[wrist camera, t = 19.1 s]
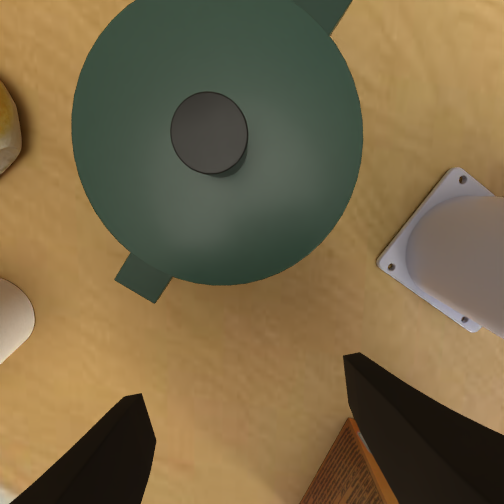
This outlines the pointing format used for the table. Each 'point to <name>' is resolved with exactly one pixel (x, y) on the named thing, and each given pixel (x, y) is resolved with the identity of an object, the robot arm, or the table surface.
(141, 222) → the lid
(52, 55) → the table surface
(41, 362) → the table surface
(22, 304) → the dixie cup
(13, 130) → the bread roll
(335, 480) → the milk carton
